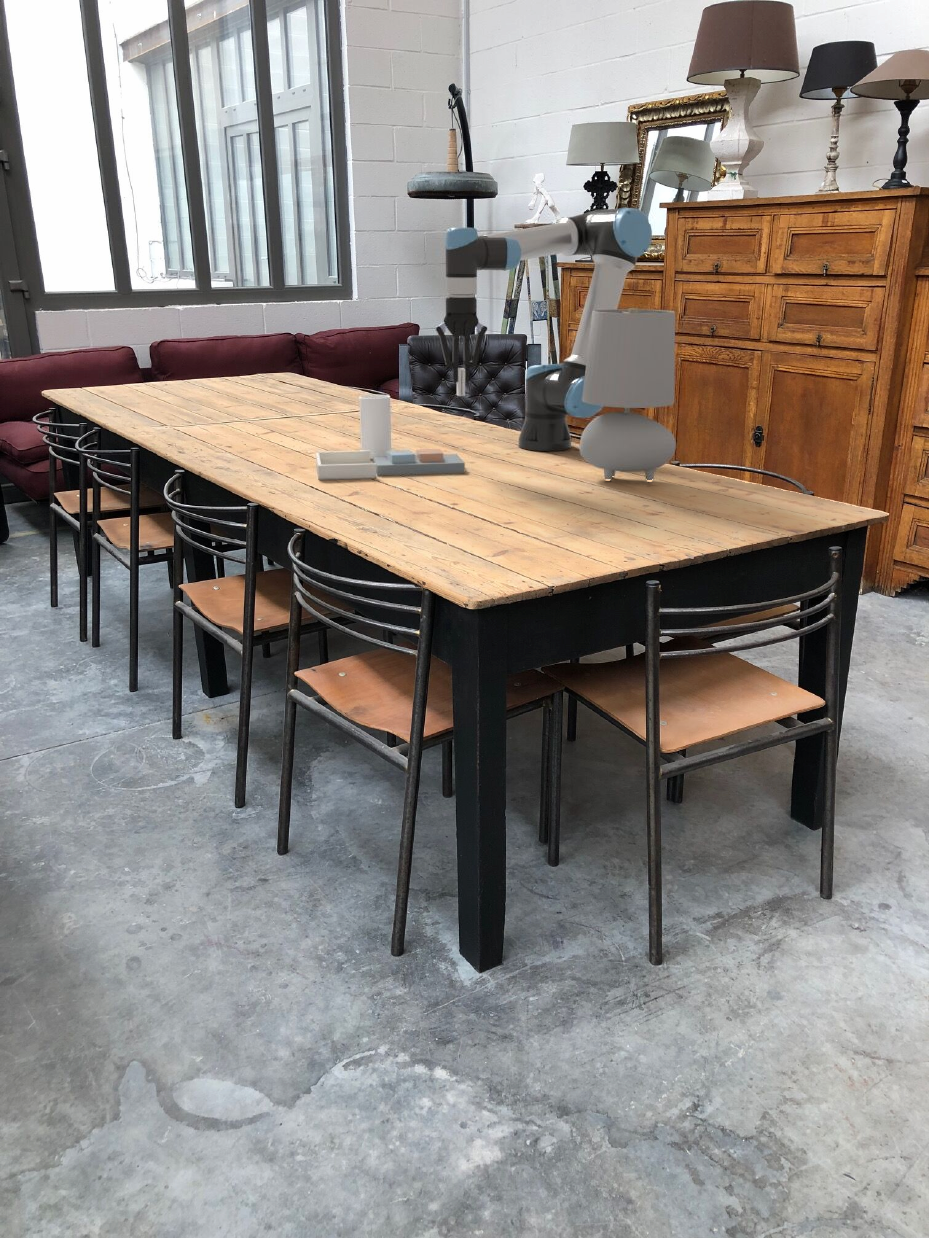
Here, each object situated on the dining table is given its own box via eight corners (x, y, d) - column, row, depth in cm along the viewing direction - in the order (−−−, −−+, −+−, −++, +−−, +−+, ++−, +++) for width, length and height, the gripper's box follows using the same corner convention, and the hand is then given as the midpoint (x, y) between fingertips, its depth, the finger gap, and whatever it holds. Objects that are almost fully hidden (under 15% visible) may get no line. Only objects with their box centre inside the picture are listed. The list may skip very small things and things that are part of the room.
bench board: (456, 463, 254) (456, 454, 253) (464, 472, 243) (464, 463, 242) (373, 465, 250) (372, 456, 249) (377, 475, 239) (377, 465, 238)
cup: (386, 459, 258) (385, 399, 252) (357, 458, 259) (355, 398, 254) (394, 454, 265) (393, 395, 260) (366, 452, 267) (364, 394, 261)
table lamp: (678, 475, 241) (692, 307, 227) (666, 494, 222) (680, 312, 208) (587, 469, 248) (596, 305, 234) (568, 486, 229) (576, 309, 215)
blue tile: (409, 457, 248) (409, 449, 247) (415, 462, 242) (415, 454, 242) (386, 458, 246) (386, 451, 245) (392, 463, 241) (391, 455, 240)
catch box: (370, 463, 253) (369, 450, 251) (376, 478, 236) (375, 464, 235) (316, 465, 250) (315, 451, 249) (318, 480, 234) (317, 465, 233)
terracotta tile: (439, 456, 249) (439, 449, 248) (443, 461, 244) (443, 453, 243) (416, 457, 248) (416, 449, 247) (419, 461, 243) (419, 454, 242)
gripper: (485, 295, 238) (483, 393, 246) (431, 295, 236) (432, 394, 244) (491, 296, 231) (489, 397, 239) (436, 297, 229) (436, 398, 237)
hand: (460, 395), depth 242 cm, fingers closed
